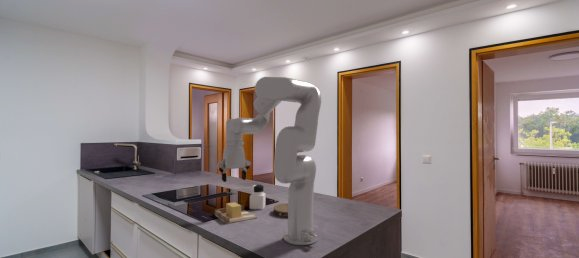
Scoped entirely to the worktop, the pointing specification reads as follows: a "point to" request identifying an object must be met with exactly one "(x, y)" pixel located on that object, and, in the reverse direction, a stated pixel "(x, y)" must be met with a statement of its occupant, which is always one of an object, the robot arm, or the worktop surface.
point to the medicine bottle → (257, 197)
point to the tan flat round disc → (281, 210)
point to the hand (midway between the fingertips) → (234, 180)
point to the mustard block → (233, 209)
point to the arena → (227, 219)
